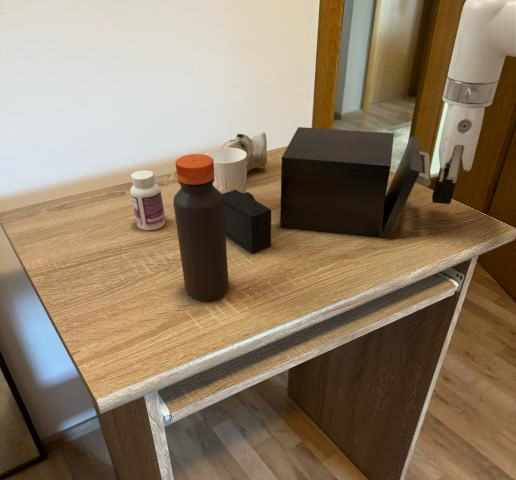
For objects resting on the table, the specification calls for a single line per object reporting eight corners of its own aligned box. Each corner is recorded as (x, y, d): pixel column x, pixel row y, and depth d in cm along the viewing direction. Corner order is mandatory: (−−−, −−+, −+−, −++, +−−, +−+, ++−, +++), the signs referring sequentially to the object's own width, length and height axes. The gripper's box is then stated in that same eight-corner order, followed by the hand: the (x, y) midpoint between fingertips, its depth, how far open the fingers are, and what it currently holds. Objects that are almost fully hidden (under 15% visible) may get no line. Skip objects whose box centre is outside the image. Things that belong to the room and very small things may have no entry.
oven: (382, 199, 99) (394, 133, 90) (378, 237, 87) (390, 165, 78) (295, 191, 102) (298, 126, 93) (280, 227, 90) (281, 157, 82)
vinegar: (206, 272, 79) (194, 147, 66) (238, 287, 76) (231, 158, 63) (176, 291, 75) (156, 162, 62) (207, 307, 72) (194, 175, 59)
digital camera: (277, 244, 86) (277, 207, 81) (252, 254, 83) (251, 216, 79) (242, 222, 92) (241, 186, 87) (218, 231, 89) (216, 195, 85)
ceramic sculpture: (280, 130, 104) (223, 151, 98) (281, 170, 110) (228, 192, 104) (249, 119, 110) (194, 138, 104) (252, 157, 116) (200, 177, 110)
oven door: (404, 204, 98) (433, 143, 89) (403, 243, 87) (436, 177, 78) (384, 198, 98) (411, 136, 90) (380, 236, 87) (410, 169, 78)
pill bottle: (169, 218, 93) (162, 169, 87) (161, 232, 90) (152, 181, 83) (142, 217, 94) (133, 167, 88) (133, 230, 90) (122, 179, 84)
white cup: (202, 210, 96) (197, 159, 89) (219, 194, 101) (216, 145, 95) (238, 216, 94) (236, 165, 87) (254, 199, 99) (253, 150, 93)
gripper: (500, 106, 70) (465, 222, 82) (489, 80, 81) (459, 186, 93) (446, 103, 71) (419, 218, 83) (442, 77, 82) (419, 183, 94)
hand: (440, 201), depth 88 cm, fingers closed
